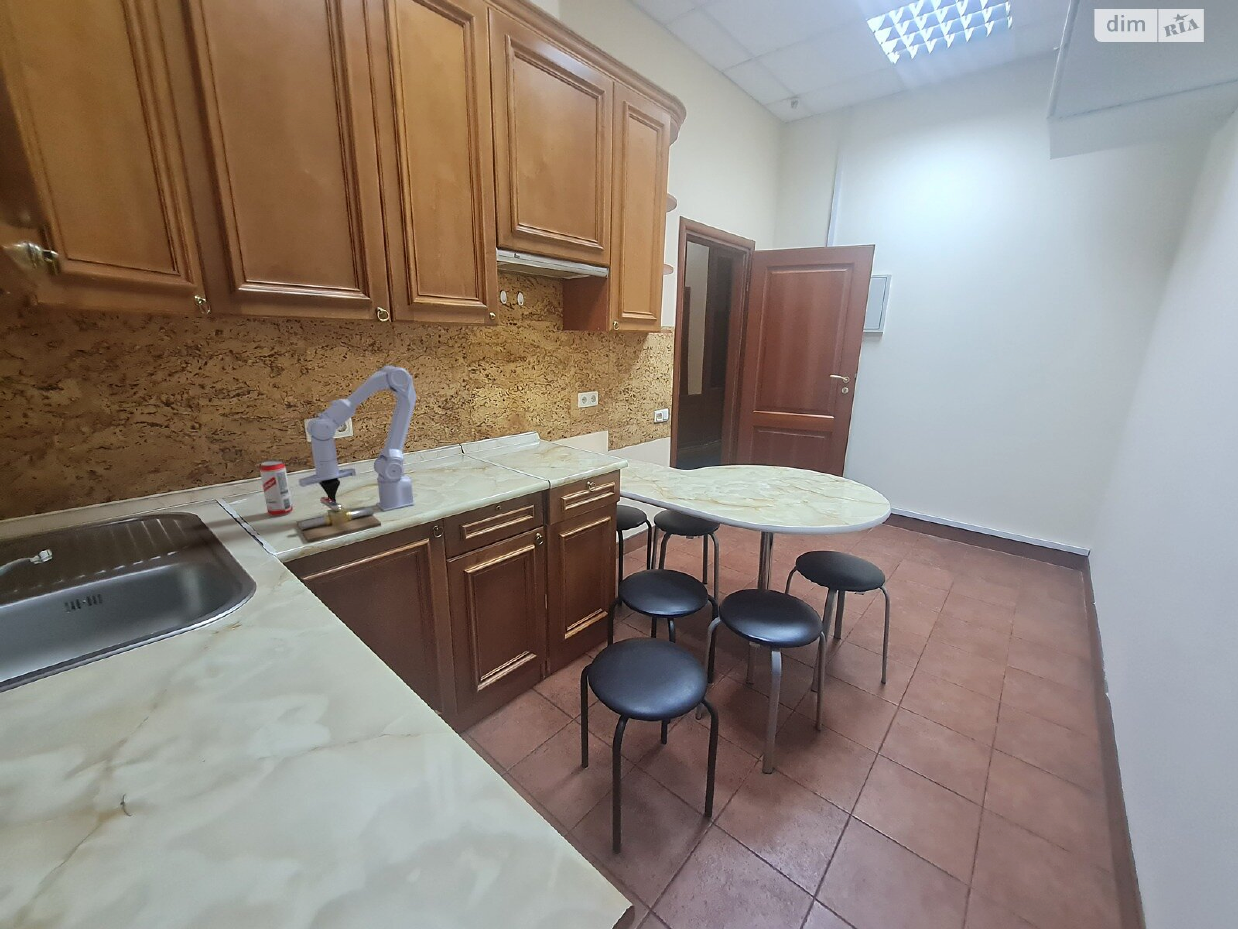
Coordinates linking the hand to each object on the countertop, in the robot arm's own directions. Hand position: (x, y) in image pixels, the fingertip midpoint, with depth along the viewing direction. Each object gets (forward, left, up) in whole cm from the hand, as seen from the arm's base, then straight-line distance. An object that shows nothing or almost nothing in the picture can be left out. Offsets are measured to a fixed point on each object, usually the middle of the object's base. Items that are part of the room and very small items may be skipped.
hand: (332, 503), depth 140 cm
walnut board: (0, +7, -4) cm, 8 cm away
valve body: (0, +7, -4) cm, 8 cm away
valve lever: (+1, +3, 0) cm, 3 cm away
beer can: (+11, -14, -5) cm, 19 cm away
